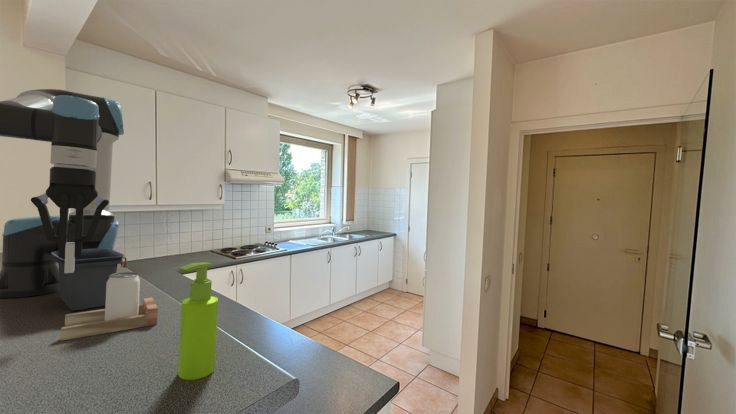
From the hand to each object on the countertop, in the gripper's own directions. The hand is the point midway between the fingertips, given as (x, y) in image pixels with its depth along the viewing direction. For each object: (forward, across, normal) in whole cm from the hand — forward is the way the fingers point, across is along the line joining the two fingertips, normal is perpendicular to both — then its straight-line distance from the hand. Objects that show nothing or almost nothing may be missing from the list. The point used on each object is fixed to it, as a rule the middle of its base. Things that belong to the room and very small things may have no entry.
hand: (69, 271), depth 71 cm
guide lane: (+14, +8, -1) cm, 16 cm away
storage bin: (+14, +4, +23) cm, 27 cm away
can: (+14, +10, -1) cm, 17 cm away
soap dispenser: (+13, +19, -35) cm, 42 cm away
